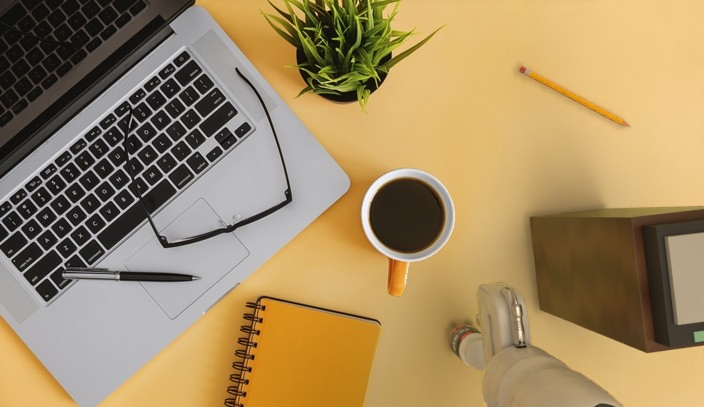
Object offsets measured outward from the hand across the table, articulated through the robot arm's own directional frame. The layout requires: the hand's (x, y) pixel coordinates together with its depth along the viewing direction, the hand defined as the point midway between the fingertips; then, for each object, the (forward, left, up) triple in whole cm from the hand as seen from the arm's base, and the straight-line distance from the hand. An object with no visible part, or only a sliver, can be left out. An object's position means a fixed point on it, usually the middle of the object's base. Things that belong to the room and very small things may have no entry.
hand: (485, 354), depth 71 cm
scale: (+10, -18, +16) cm, 26 cm away
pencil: (+34, -21, -10) cm, 41 cm away
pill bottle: (0, 0, -10) cm, 10 cm away
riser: (+10, -18, -10) cm, 22 cm away
